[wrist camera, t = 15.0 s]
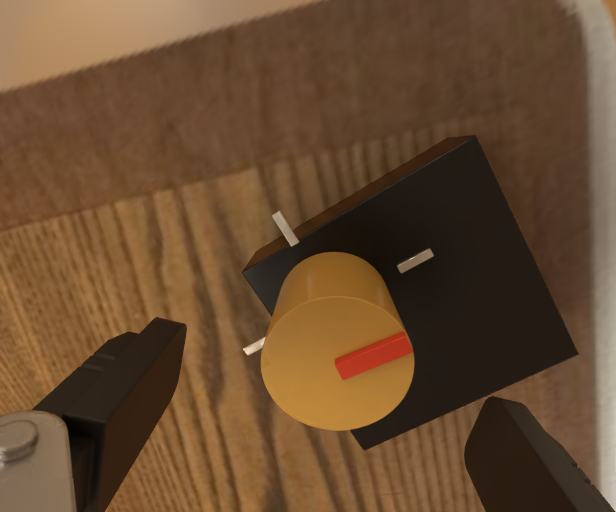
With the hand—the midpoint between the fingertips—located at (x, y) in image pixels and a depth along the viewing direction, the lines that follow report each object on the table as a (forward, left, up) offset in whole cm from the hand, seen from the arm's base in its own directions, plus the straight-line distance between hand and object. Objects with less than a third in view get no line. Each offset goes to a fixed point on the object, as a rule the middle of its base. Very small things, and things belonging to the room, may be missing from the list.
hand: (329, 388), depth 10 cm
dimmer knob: (0, 0, -5) cm, 5 cm away
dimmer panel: (+1, +2, -9) cm, 9 cm away
